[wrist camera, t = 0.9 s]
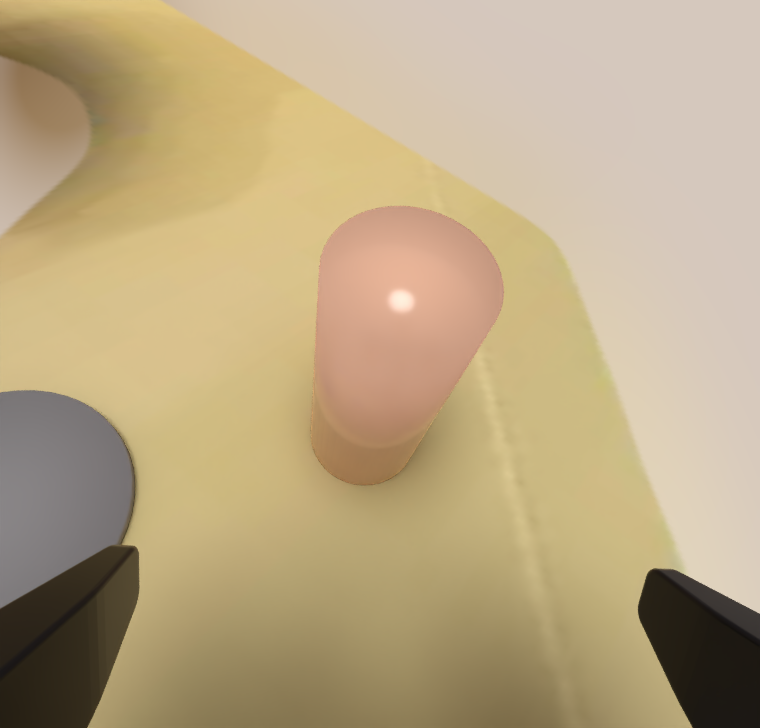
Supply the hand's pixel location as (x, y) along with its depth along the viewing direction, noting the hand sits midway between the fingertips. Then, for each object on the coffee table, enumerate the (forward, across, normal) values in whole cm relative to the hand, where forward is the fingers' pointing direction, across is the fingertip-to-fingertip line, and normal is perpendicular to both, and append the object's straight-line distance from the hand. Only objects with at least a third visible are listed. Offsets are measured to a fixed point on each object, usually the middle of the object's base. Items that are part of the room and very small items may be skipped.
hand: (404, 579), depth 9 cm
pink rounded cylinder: (+15, 0, +3) cm, 15 cm away
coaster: (+12, +14, +7) cm, 20 cm away
